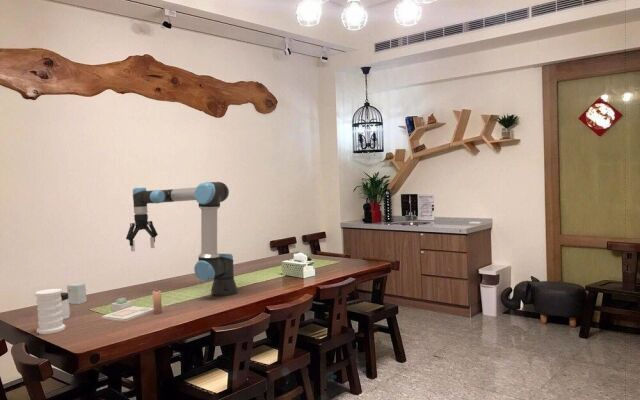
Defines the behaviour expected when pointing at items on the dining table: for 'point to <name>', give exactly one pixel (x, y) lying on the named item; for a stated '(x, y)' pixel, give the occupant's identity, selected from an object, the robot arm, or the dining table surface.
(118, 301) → the button
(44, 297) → the decorative container
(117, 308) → the button housing
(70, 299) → the small box
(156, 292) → the marker
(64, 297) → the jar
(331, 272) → the dining table surface
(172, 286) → the dining table surface
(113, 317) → the board
